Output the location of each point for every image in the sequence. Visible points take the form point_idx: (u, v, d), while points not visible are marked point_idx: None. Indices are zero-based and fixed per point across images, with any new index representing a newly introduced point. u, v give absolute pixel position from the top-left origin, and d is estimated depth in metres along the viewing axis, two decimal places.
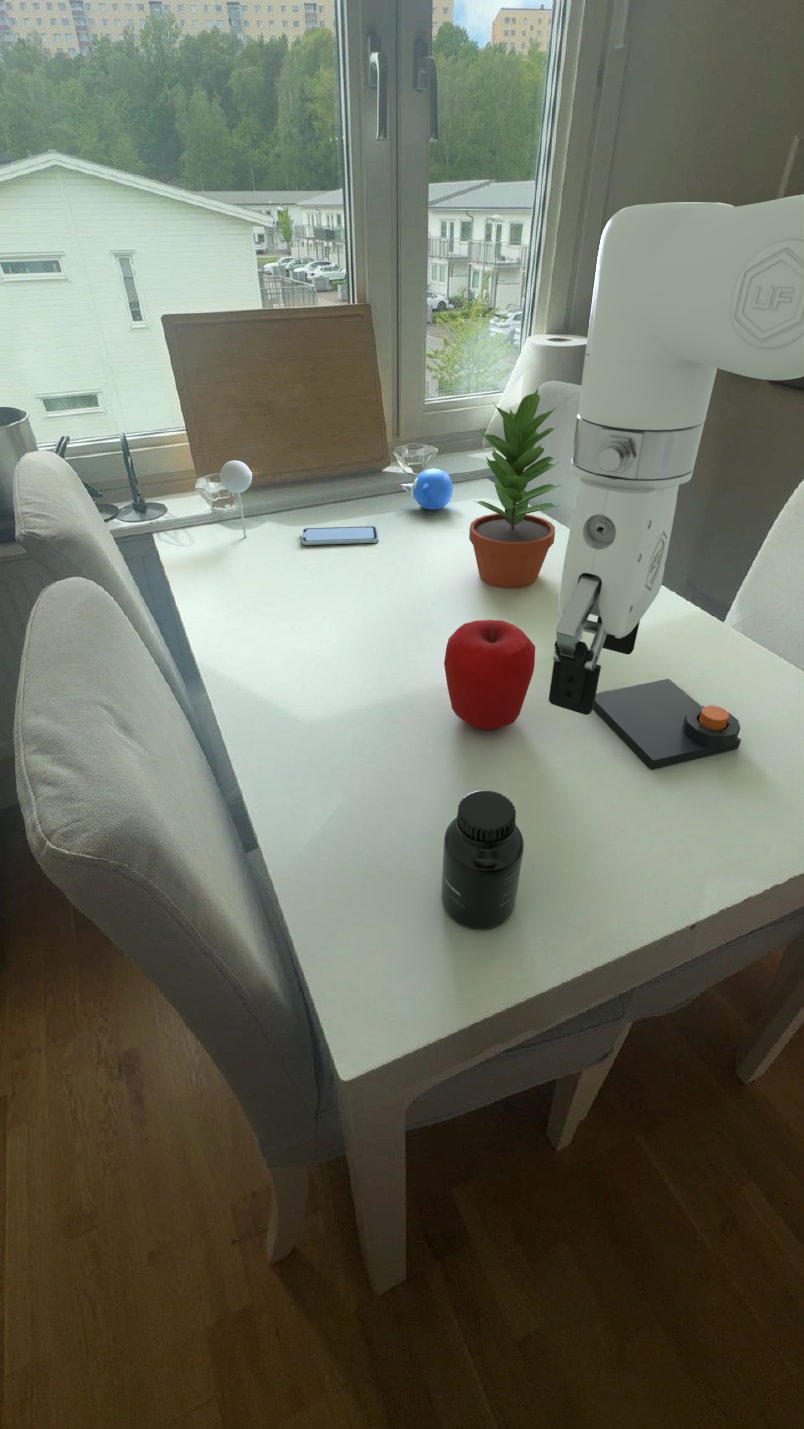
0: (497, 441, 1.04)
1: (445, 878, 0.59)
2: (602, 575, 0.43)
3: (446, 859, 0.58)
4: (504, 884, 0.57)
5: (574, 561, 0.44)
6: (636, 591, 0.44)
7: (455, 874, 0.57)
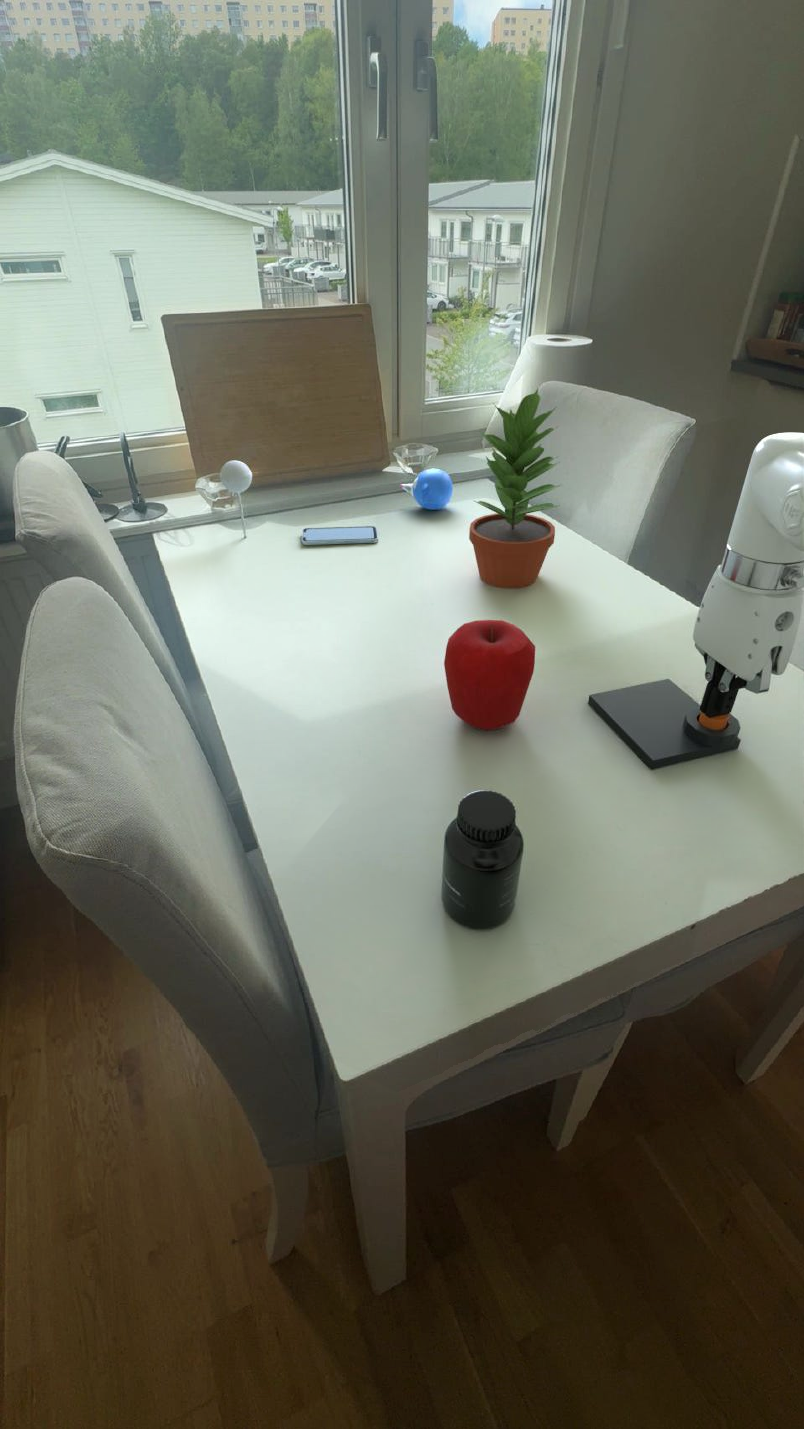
0: (497, 441, 1.04)
1: (445, 878, 0.59)
2: (777, 653, 0.70)
3: (446, 859, 0.58)
4: (504, 884, 0.57)
5: (767, 643, 0.68)
6: None
7: (455, 874, 0.57)
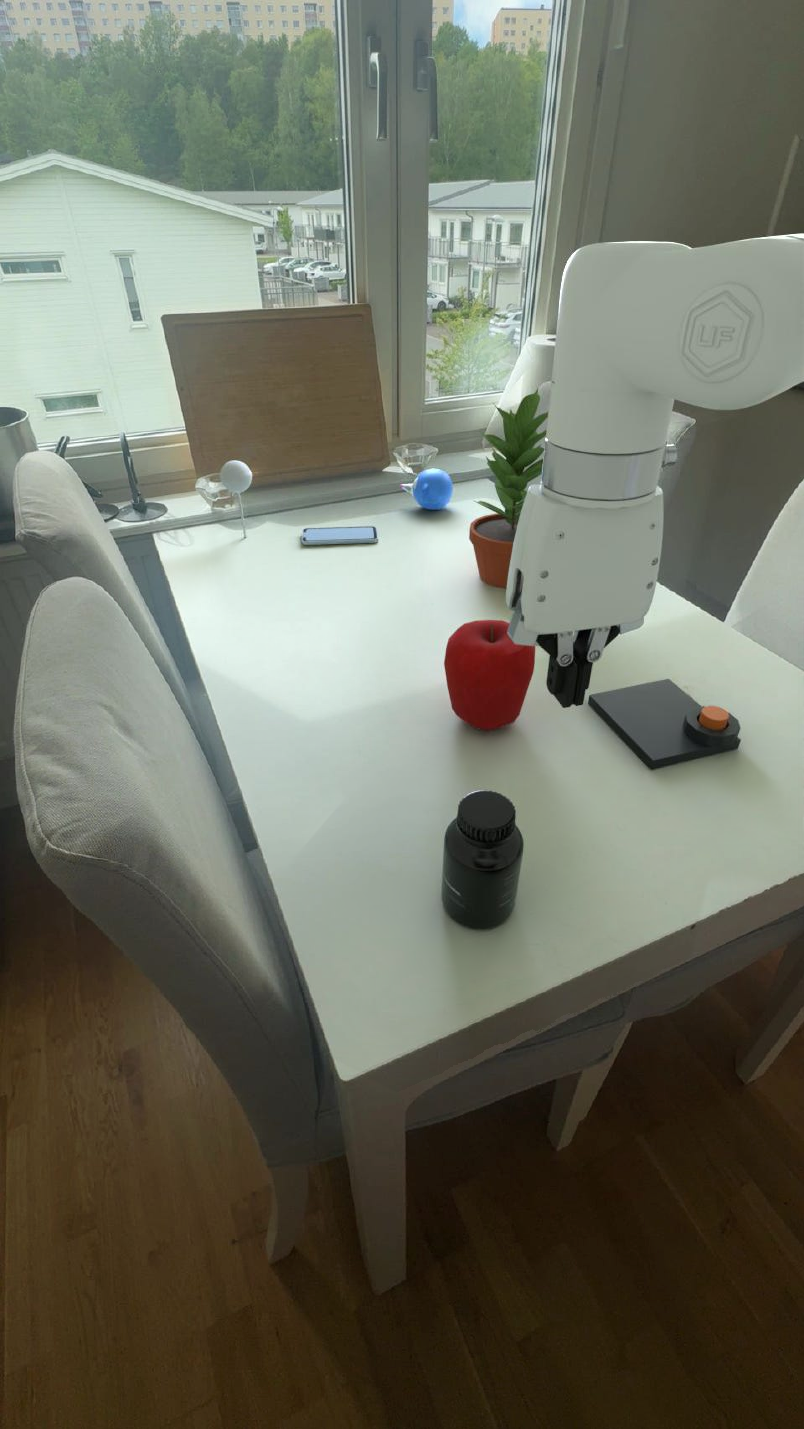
0: (497, 441, 1.04)
1: (445, 878, 0.59)
2: None
3: (446, 859, 0.58)
4: (503, 884, 0.57)
5: None
6: None
7: (455, 874, 0.57)
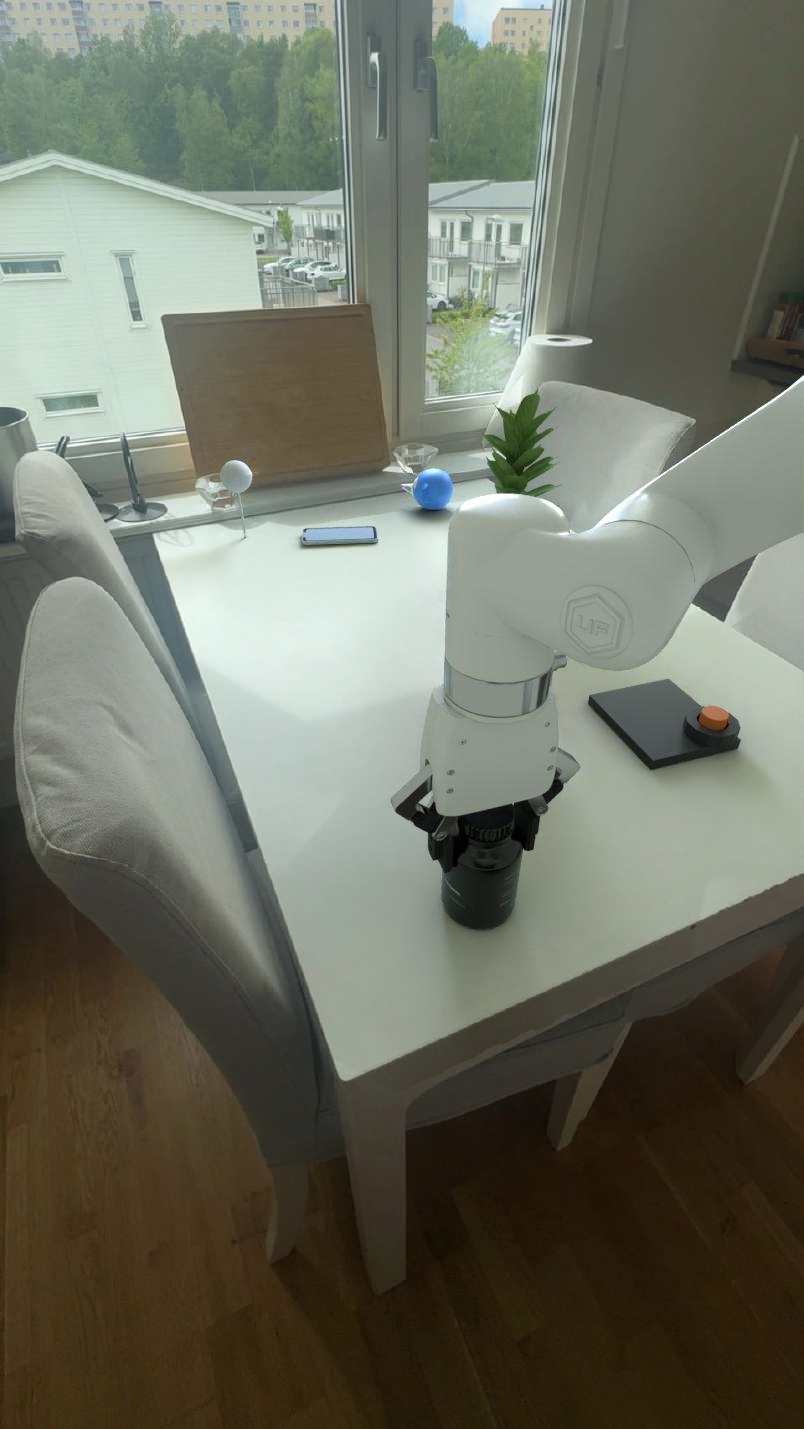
0: (497, 441, 1.04)
1: (445, 878, 0.59)
2: None
3: None
4: (503, 884, 0.57)
5: None
6: None
7: (454, 874, 0.57)
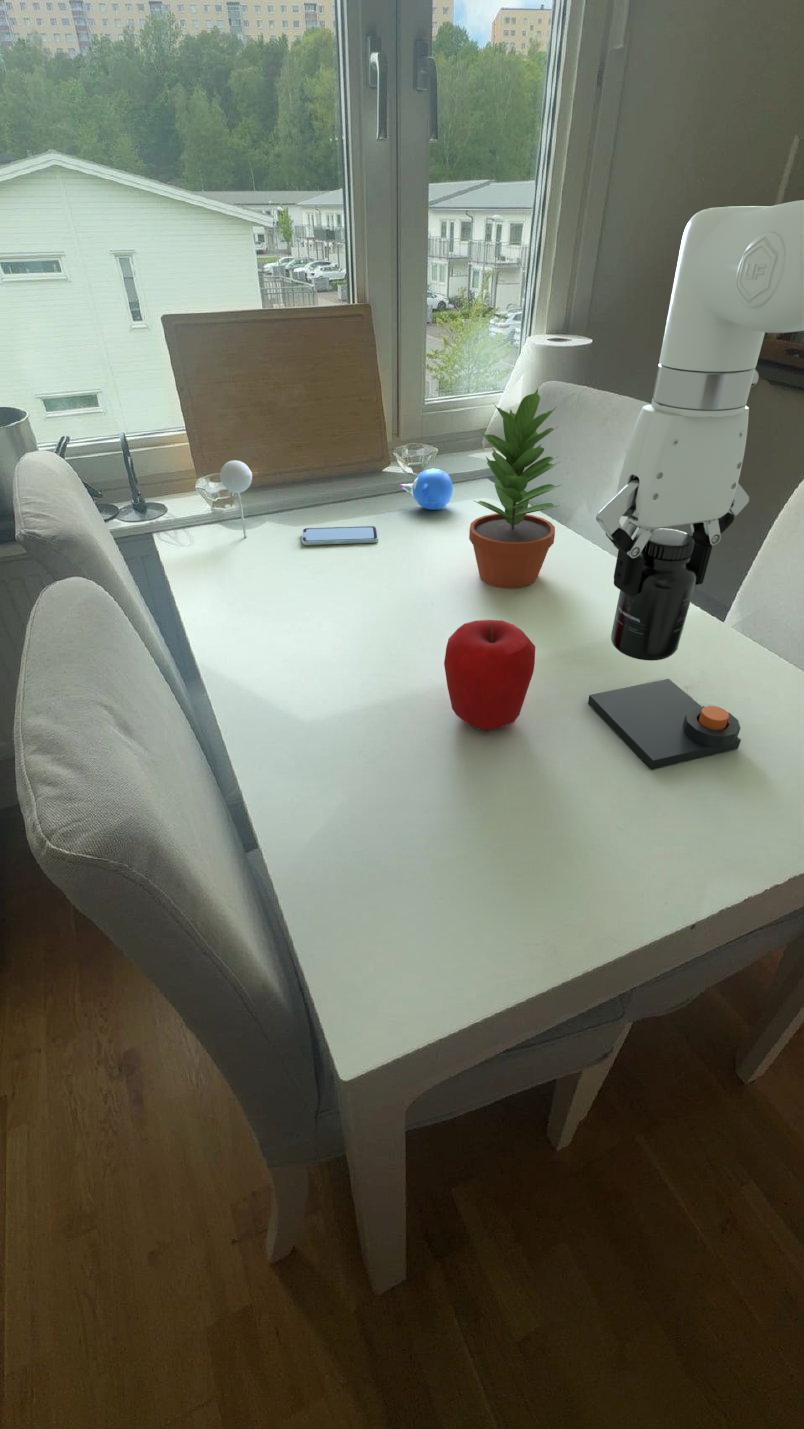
0: (497, 441, 1.04)
1: (623, 612, 0.68)
2: None
3: None
4: (681, 606, 0.66)
5: None
6: None
7: (637, 599, 0.66)
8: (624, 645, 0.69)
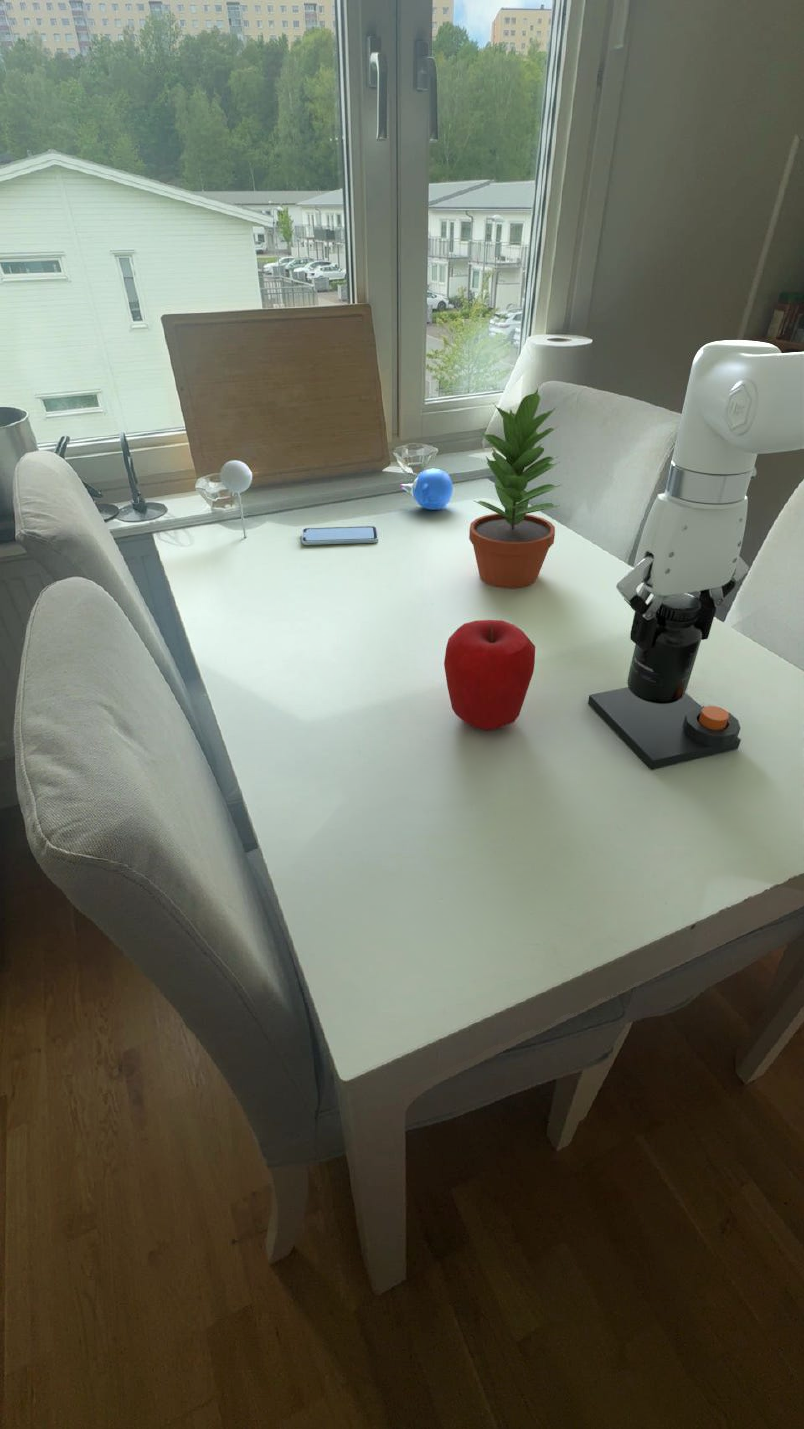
0: (497, 441, 1.04)
1: (638, 662, 0.79)
2: None
3: None
4: (688, 659, 0.76)
5: None
6: None
7: (651, 653, 0.76)
8: (639, 690, 0.80)
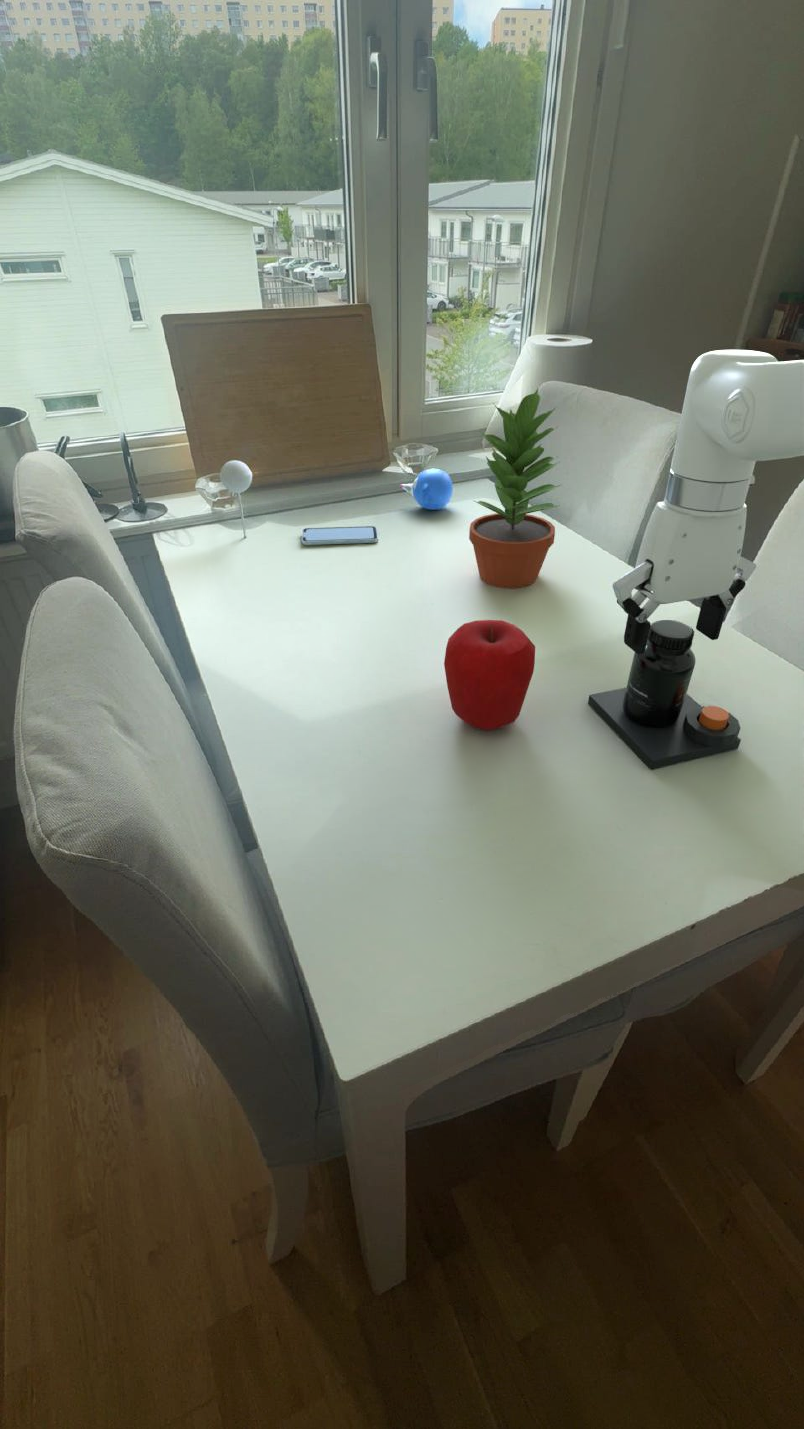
0: (497, 441, 1.04)
1: (633, 687, 0.80)
2: None
3: (637, 670, 0.79)
4: (682, 685, 0.78)
5: None
6: None
7: (645, 679, 0.78)
8: (633, 714, 0.82)
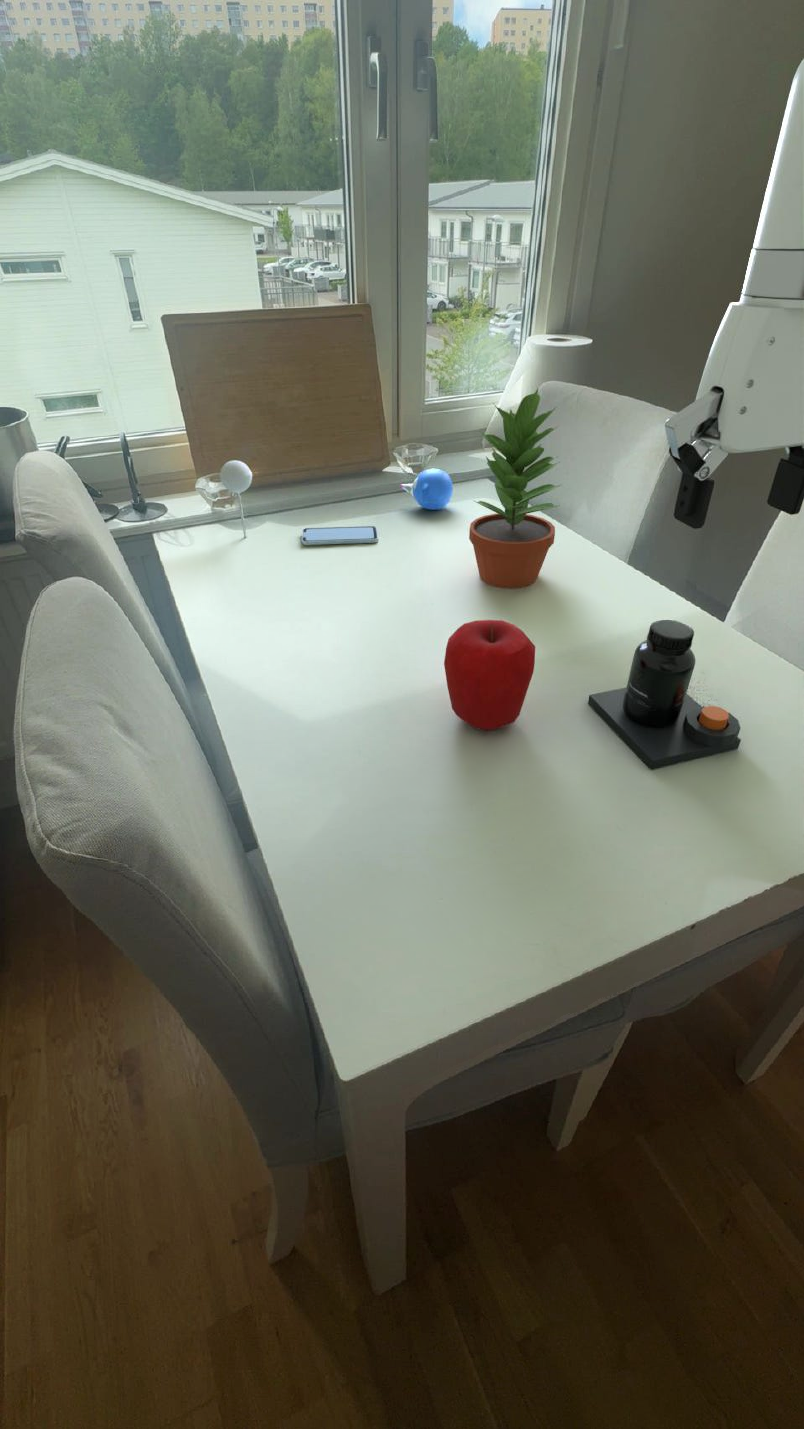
0: (497, 441, 1.04)
1: (633, 687, 0.81)
2: None
3: (637, 670, 0.79)
4: (682, 685, 0.78)
5: None
6: None
7: (645, 679, 0.78)
8: (633, 714, 0.82)
